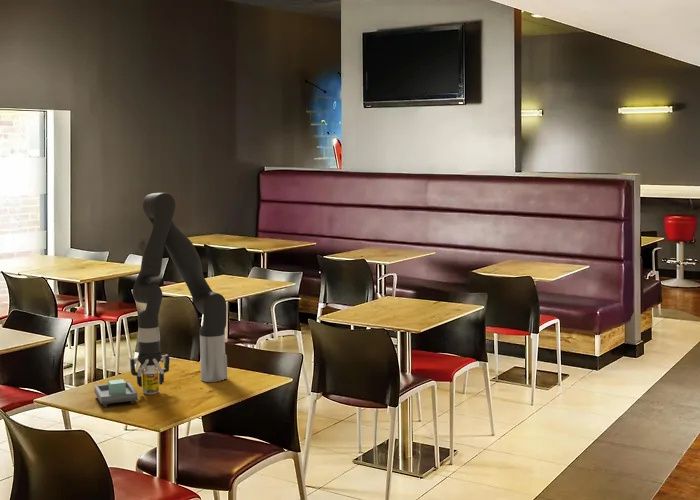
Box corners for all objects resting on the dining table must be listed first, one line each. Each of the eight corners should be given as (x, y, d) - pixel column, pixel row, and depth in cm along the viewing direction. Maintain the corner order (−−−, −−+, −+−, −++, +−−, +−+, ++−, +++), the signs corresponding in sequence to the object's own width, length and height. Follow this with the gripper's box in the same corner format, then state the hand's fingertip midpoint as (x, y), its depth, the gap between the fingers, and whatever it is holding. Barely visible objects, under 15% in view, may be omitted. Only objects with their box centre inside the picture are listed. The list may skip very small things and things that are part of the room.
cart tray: (129, 392, 315) (128, 381, 314) (137, 404, 300) (137, 392, 300) (94, 396, 310) (94, 385, 310) (101, 408, 296) (101, 397, 295)
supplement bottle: (146, 395, 311) (145, 367, 310) (140, 392, 315) (139, 364, 314) (161, 393, 314) (160, 365, 313) (155, 389, 318) (154, 362, 317)
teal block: (123, 393, 305) (123, 379, 304) (126, 396, 300) (125, 382, 300) (108, 394, 303) (108, 380, 302) (111, 398, 299) (110, 384, 298)
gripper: (166, 335, 319) (168, 380, 321) (126, 339, 313) (128, 385, 315) (171, 339, 312) (173, 385, 314) (130, 343, 306) (132, 390, 308)
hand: (150, 385), depth 314 cm, fingers open, 6 cm apart
